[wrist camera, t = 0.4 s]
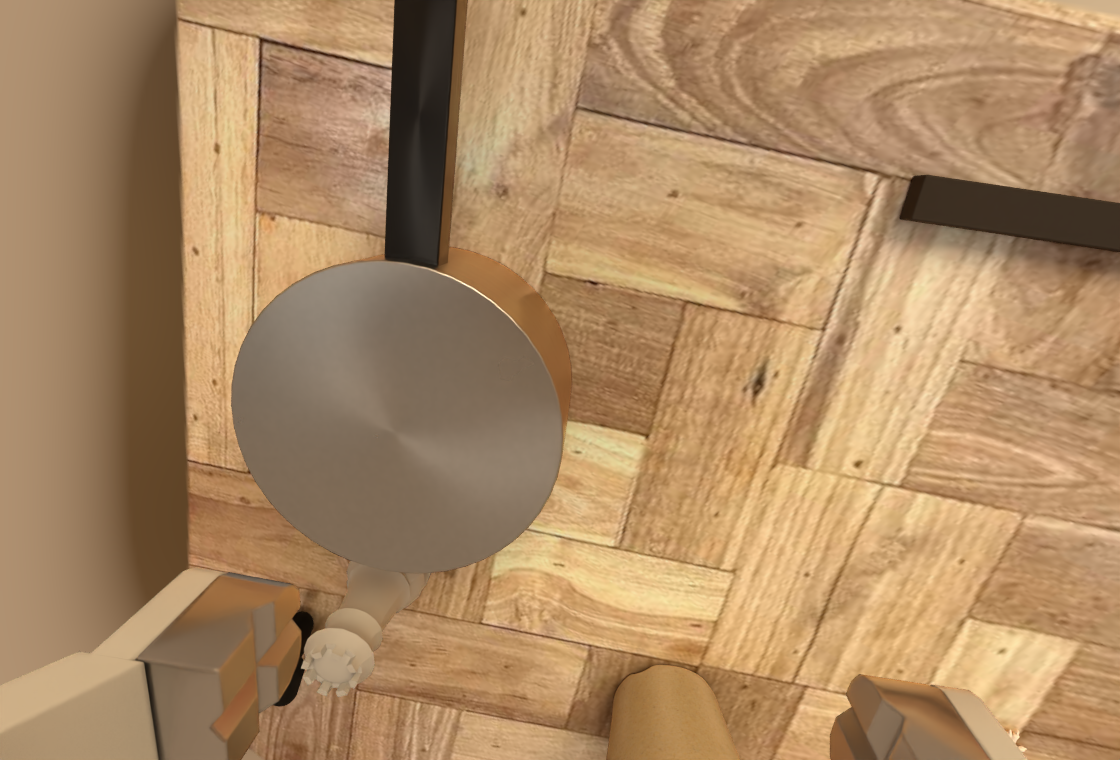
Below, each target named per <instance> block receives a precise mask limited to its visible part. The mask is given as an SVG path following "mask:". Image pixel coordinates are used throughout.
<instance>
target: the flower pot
mask: <svg viewBox="0 0 1120 760" xmlns="http://www.w3.org/2000/svg"><path fill="white" fill-rule="evenodd" d="M606 760H740V757H739V755H738V752H737V750H736V747H735V745H734V742H733V740H732V737H731V735H730V732H729V730H728V727H727V725H726V722H725V720H724V717H723V715H722V712H721V710H720V707H719V704H718V701H717V698H716V696H715V694H714V692H713V691H712V689H711V688H710V687H709V685H708V684H707V683H706V681H705V680H704V679H703V678H702V677H700V676H699V675H697V674H696V673H694V672H692V671H690V670H687V669H685V668H681V667H677V666H671V665H654V666H651V667H650V668H648V669H647V670H645V671H643V672H640V673H637V674H630V675H629V676H628V677H627V678H626V679H625V680H624V681H623V682H622V683H621V684H620V686H619V687H618V689H617V691H616V693H615V696H614V700H613V711H612V720H611V729H610V736H609V744H608V751H607V759H606Z"/></svg>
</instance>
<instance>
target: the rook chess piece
mask: <svg viewBox="0 0 1120 760" xmlns="http://www.w3.org/2000/svg"><path fill="white" fill-rule="evenodd" d="M429 577H430V573H401V572H392V571H386V570H381V569H376V568H372V567H368V566H365V565H362V564H359V563H356V562H353V561H350V563H349V565H348V569H347V578H348V580H347V588H348V590H347V593H346V595H345V597H344V600H343V602H342V604H341V606H340V607H339V609H338V610H337V611H334V612H333V613H332V614H331V615H330V616H329V617H328V618H327V621H326V624H325V629H323V630H319V631H316V632H315V633H314V634H313V635H311V636H310V637H309V638H308V639H307V642H306V645H305V647H304V653H305V659H304V661H303V664H302V667H301V669H306V670H307V671H306V672H305V674H304V675H303V677H302V678H303V679H304V681H305V682H306V684H307V685H310V684H312V683H313V682H314V680H315V679H316V680H317V681H319V682H320V683H321V685H320V687H319V689H318V691H317V693H319V694H322V695H324V696H327V695H328V694H329V692H330V690H331V688H338V689H337V691H336V694H337V696H338V697H341V696H345V695H348V693H349V691H350V689H351V688H353V689H355V687H356V685H357V684H359V683H361V682H363V681H364V680H365V679H367V678H368V677H369V676H370V675H371V673H372V671H373V669H374V666H375V662H374V654H373V652H374V651H375V650H376V649H377V648H379V646H380V644H381V642H382V639H383V637H382V631H383V629H384V628H385V626H386V625H387V624H388V622H389V621H390V620H391V618H392V617H393V616H394V614H395V613H398V612H399V611H401V610H402V609H403V608H406V607H407V606H409V605H410V604H411V603H412V602H413V601H415V600H416V599H417V598H418V597H419V596H420V594H421V591H422V589H423V588H424V587H425V586H426V584H427V581H428V579H429Z"/></svg>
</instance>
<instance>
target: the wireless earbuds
mask: <svg viewBox="0 0 1120 760" xmlns="http://www.w3.org/2000/svg"><path fill="white" fill-rule="evenodd" d="M300 603H301V601H300ZM292 619H293V621H294V622H295V623H296V625H297V626H298V627H299V628H300V630H301V650H300V655H299V661H298V663H297V666H296V668H295V671H294V674H293V676H292V679H291V681H290V683H289V685H288V687H287V688H286V690H285V691H284V693H283V695H282V696H281V698H280V700H279V701H278V702H277V703H275V704H273V705H274V706H285V705H287V704H289V703H290V702H291V701H293V699H294V698H295V697H296V695H297V692H298V689H299V686H300V683H301V680H302V677H303V673H304V670H305V669H301V667H302V664H303V661H304V660H303V659H302V658H301V656H302V655H303V653H304V647H305V645H306V642H307V639H308V638H309V637H310V635H311V632H312V629H313V624H314V623H313V618H312V616H311V615H310V614H308V613H307V612H297V613H296V614H295V615H294V616H293V618H292Z"/></svg>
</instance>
